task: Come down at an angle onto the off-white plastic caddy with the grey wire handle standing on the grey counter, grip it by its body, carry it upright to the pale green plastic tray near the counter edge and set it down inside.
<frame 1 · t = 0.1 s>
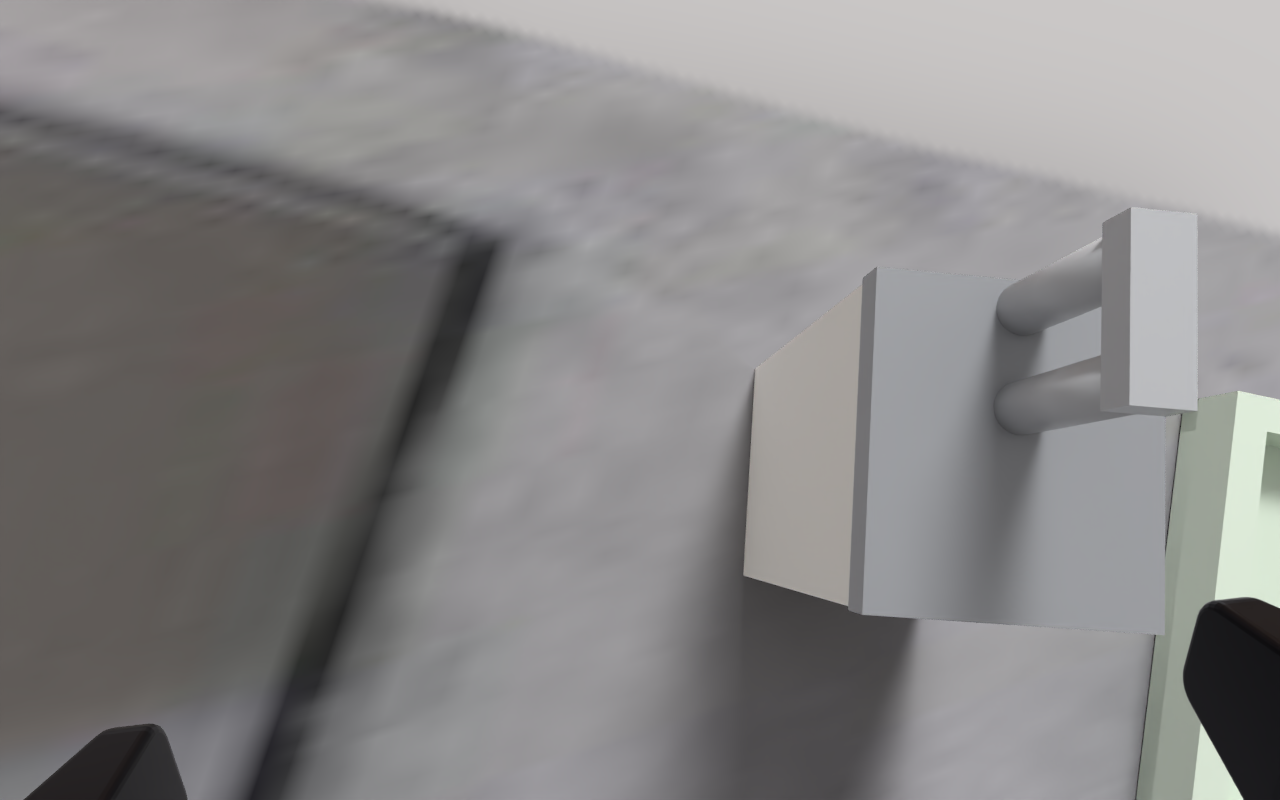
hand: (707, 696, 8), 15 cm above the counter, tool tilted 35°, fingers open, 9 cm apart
caddy: (838, 477, 24), on the counter
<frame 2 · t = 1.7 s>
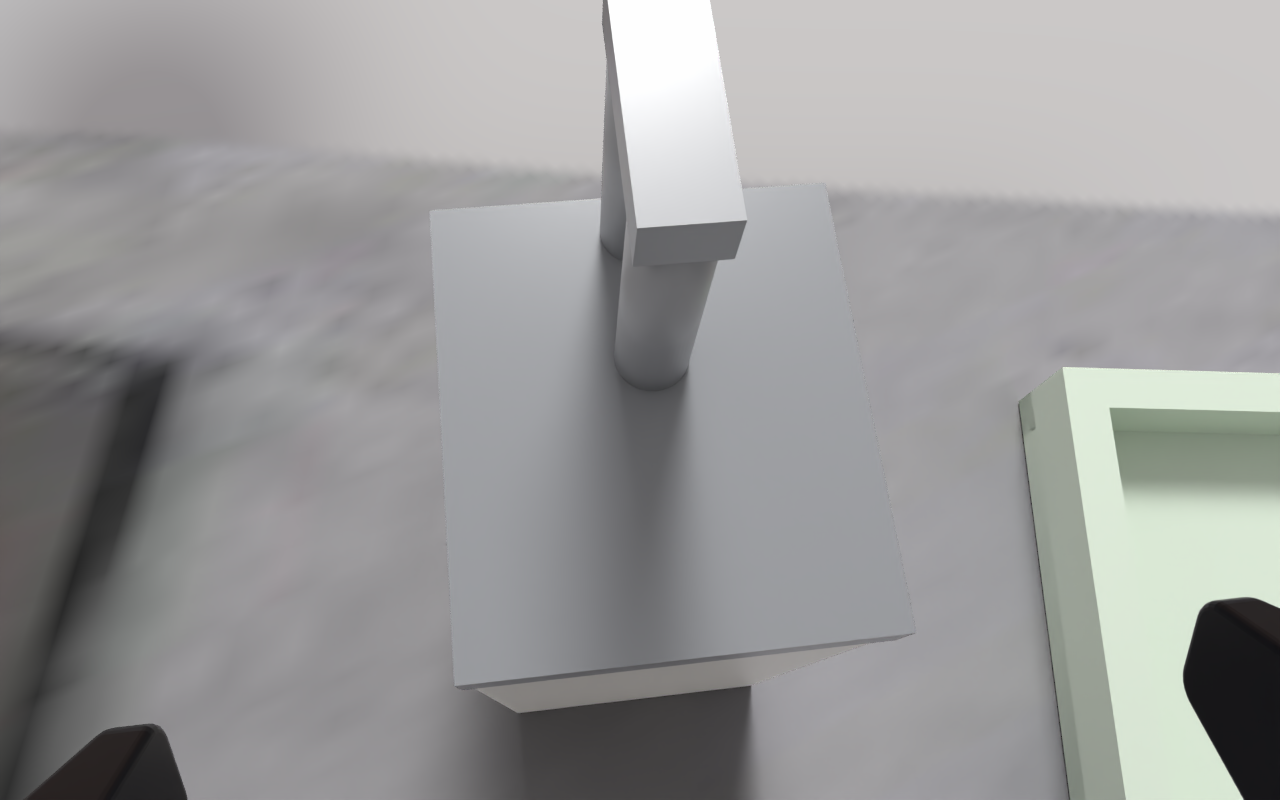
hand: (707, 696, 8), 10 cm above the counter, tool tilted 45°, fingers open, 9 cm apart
caddy: (621, 566, 19), on the counter
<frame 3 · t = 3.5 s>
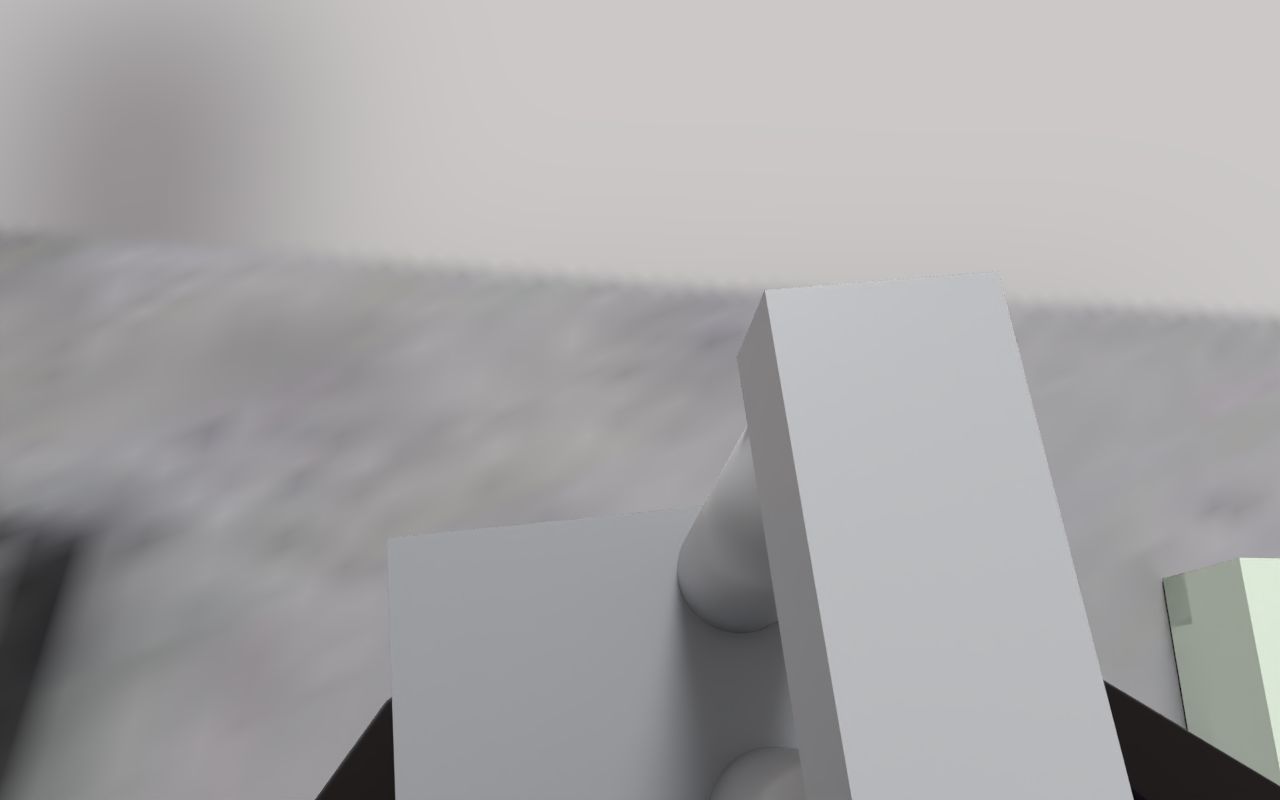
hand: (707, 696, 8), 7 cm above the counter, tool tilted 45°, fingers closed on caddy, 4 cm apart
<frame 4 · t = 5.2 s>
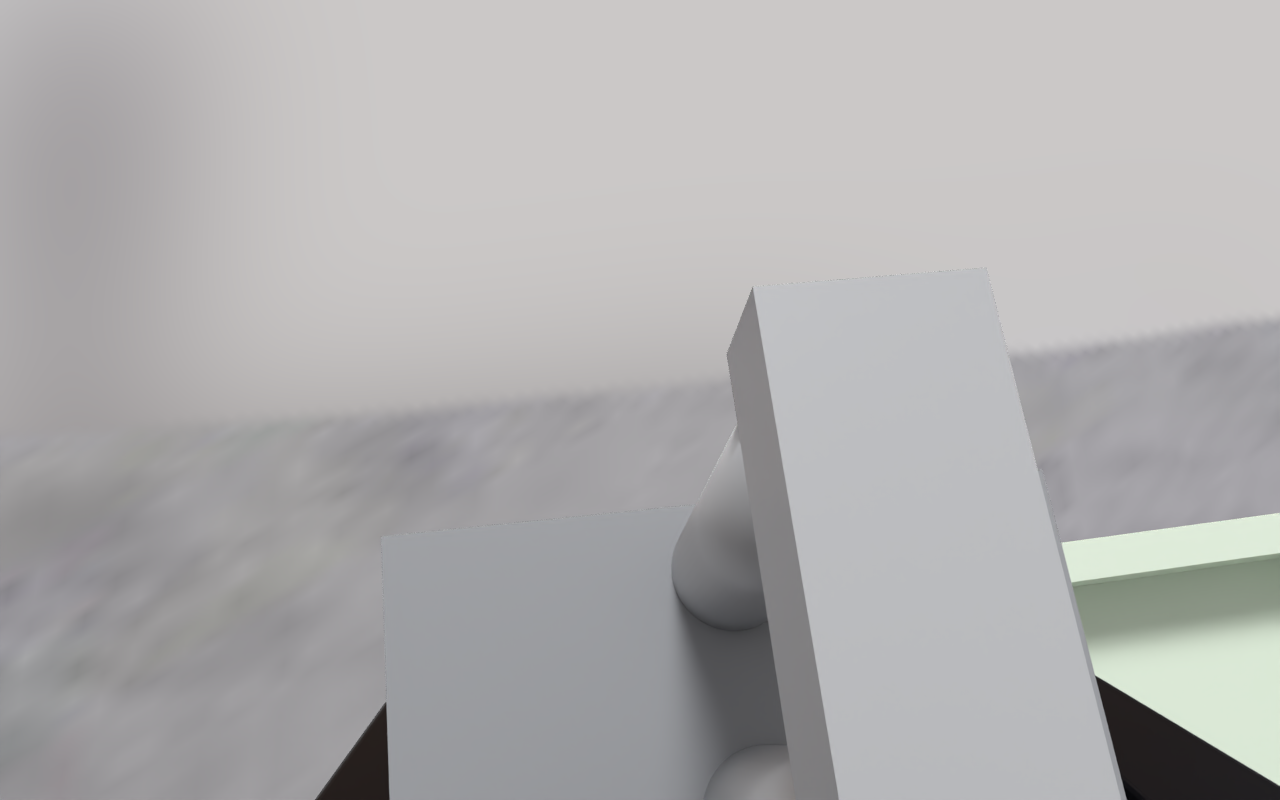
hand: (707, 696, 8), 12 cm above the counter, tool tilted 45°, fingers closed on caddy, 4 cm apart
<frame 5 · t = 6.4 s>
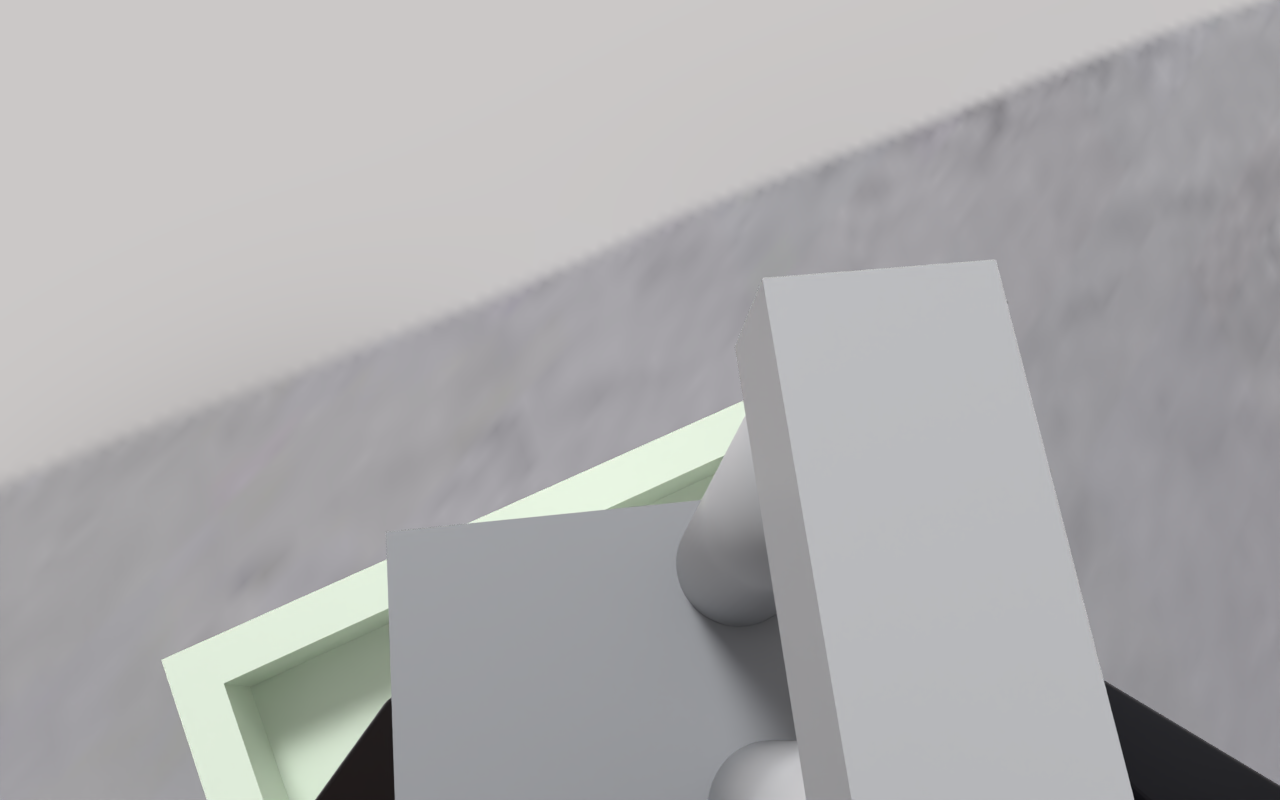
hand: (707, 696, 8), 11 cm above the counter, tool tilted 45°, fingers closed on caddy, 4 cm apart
tray: (645, 789, 18), on the counter
when the fingers open (9 cm above the counter, at t = 7.1 s): caddy drops 1 cm, resting on tray.
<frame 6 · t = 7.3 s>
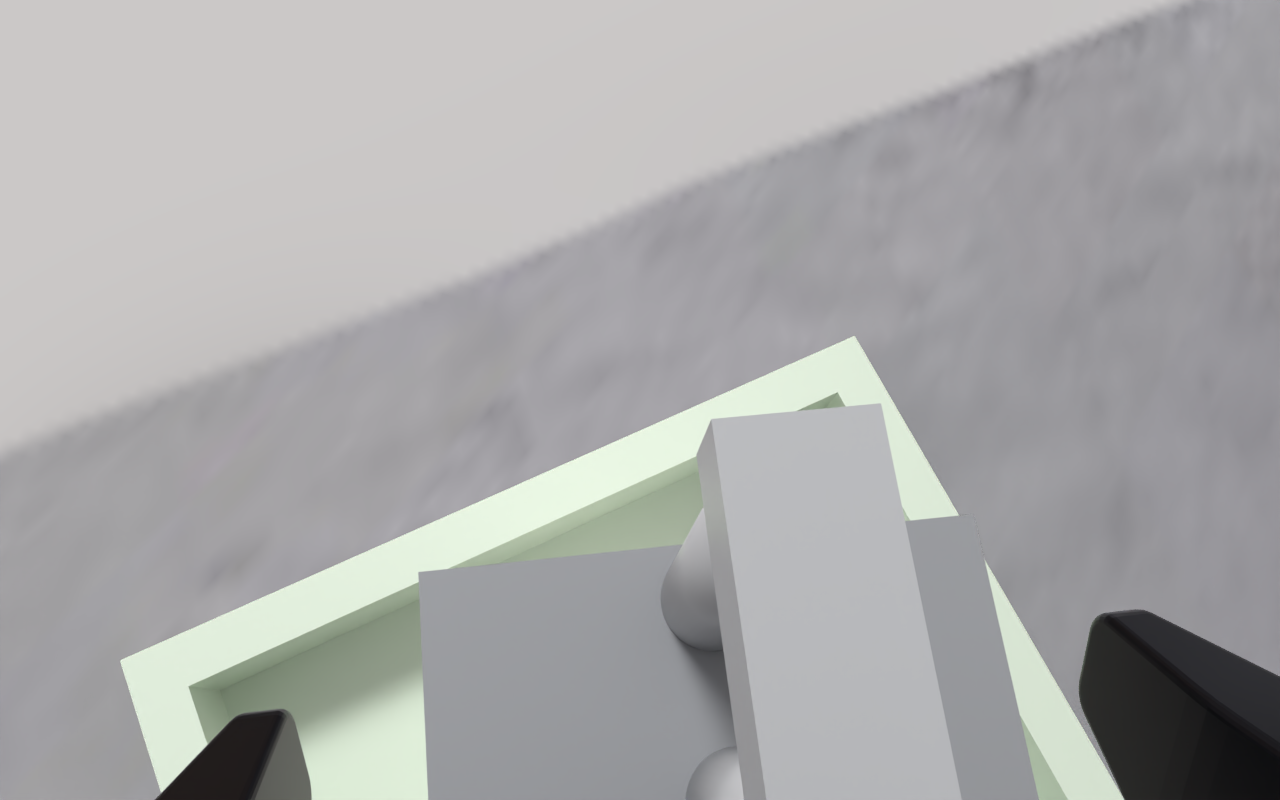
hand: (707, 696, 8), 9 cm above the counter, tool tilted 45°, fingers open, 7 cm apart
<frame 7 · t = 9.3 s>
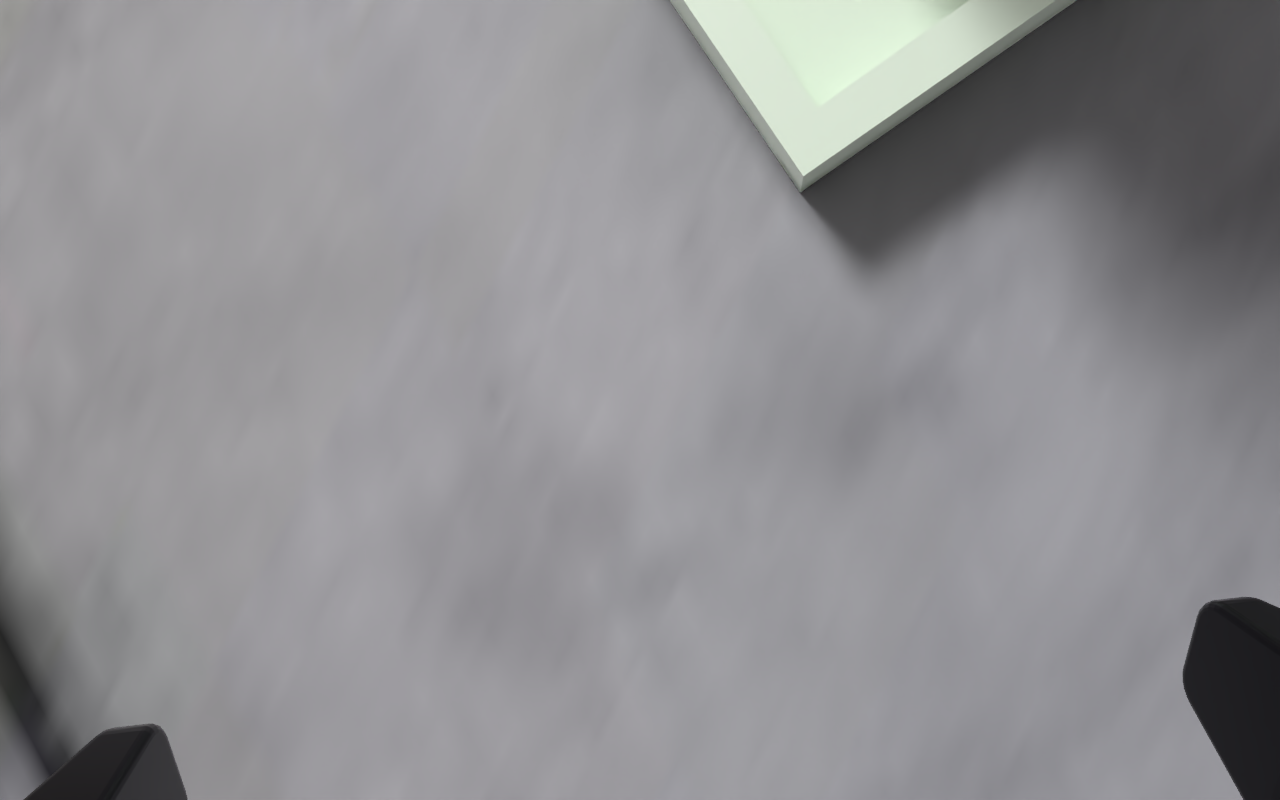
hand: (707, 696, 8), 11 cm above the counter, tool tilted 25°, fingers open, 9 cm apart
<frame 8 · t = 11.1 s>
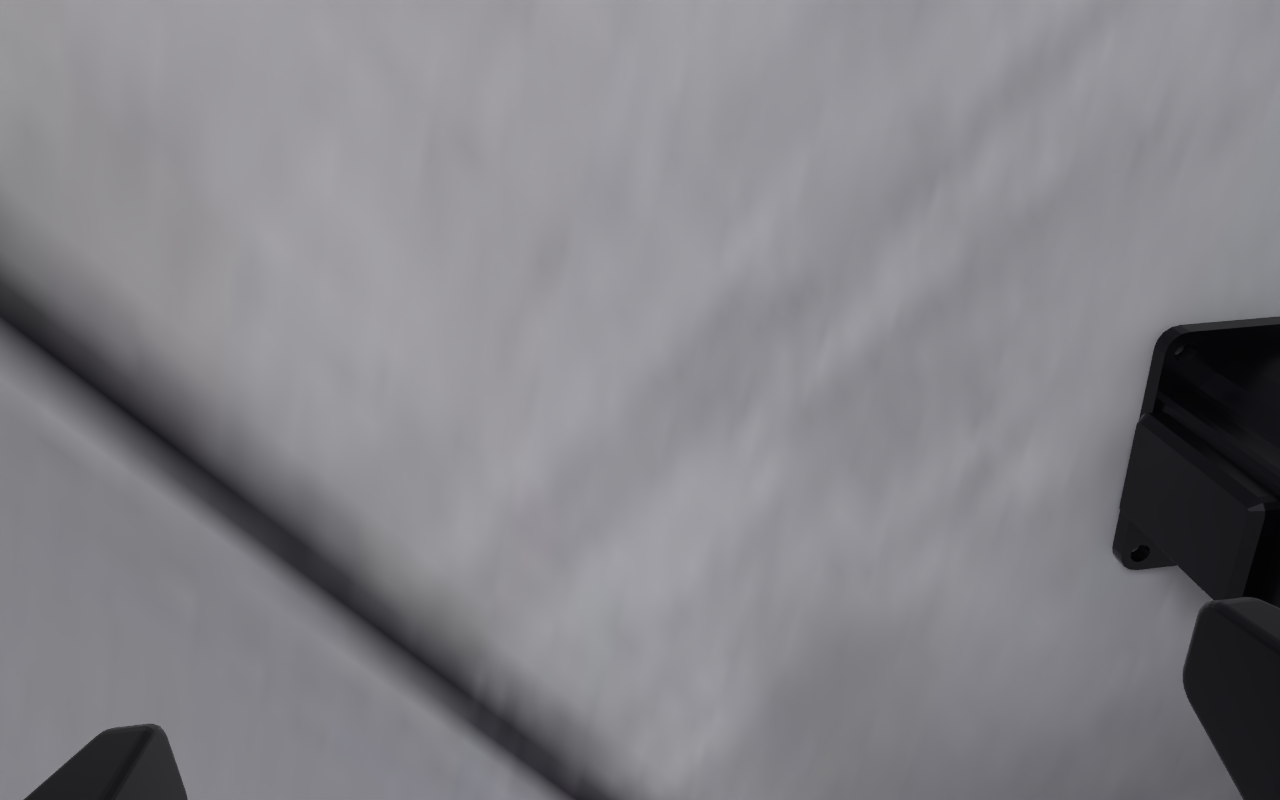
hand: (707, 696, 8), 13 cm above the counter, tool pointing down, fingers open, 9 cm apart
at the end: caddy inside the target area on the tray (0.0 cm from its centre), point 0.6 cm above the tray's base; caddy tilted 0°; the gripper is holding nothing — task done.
